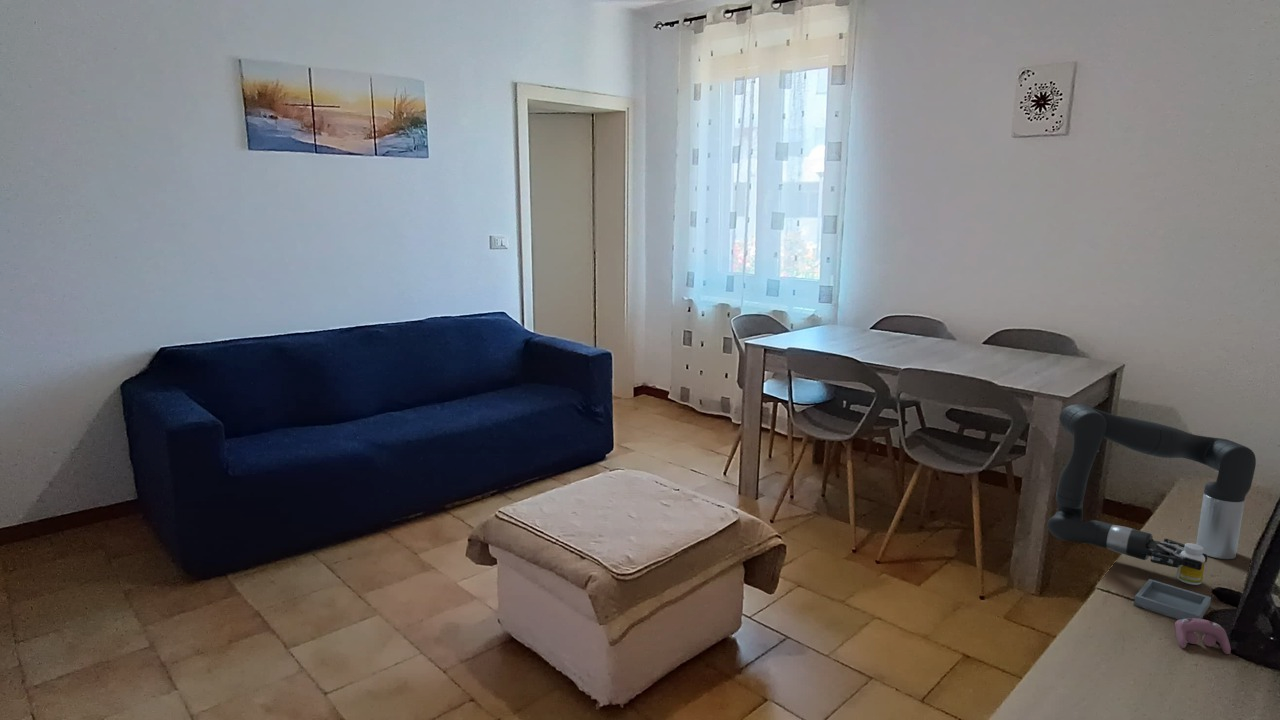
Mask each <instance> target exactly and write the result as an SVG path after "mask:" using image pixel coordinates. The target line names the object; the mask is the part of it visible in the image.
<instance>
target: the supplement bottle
mask: <svg viewBox="0 0 1280 720" xmlns="http://www.w3.org/2000/svg"><path fill="white" fill-rule="evenodd" d="M1184 544H1185V546H1184V550H1185V551H1183V550H1182V552H1181V553H1179V554H1180V555H1181V556H1183V557H1184V559H1185V557H1187V558H1190V559H1194V560H1197V561H1201V562H1202V569H1201V570H1197V569H1193V568H1190V567H1186V566H1178V568H1177V571H1176V577H1177V579H1178V581H1181V582H1182V583H1185V584H1188V585H1193V586H1194V585H1195V586H1198V585H1201V584H1202V583H1203V577H1204V571H1205V565H1206V563H1205V557H1204V556H1203V555H1202V554H1203V547H1202V546H1200V545H1197V544H1196V543H1193V542H1192V543H1190V542H1187V543H1184Z"/></svg>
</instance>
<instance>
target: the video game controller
mask: <svg viewBox="0 0 1280 720" xmlns="http://www.w3.org/2000/svg"><path fill="white" fill-rule="evenodd" d="M1174 629H1175V635H1176V640H1177V643H1178V645H1179V647H1180V648H1181V649H1185V648H1186V646H1187V643H1189V644H1192V645H1194V644H1198V643H1199V641H1200V639H1199V636H1198V635H1197V634H1196V633H1202V634H1203V636H1202V637H1201V642H1202V644H1203V645H1204V646H1206V647H1213V646H1215V644H1216V643H1218V644H1219V646H1220V648H1221V650H1222V652H1223V653H1224V654H1225V653H1226V654H1229V655H1230V654H1231V651H1232V650H1231V644H1230V640H1229V637H1228V634H1227V632H1226V630H1225V629H1224V628H1223V627H1222V626H1221V625H1220V624H1218V623H1216V622H1213V621H1211V620H1208V619H1203V618H1202V619H1198V618H1187V619H1185V618H1184V619H1180V620H1179V619H1176V621H1175V622H1174ZM1226 654H1225V655H1226Z"/></svg>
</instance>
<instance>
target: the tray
mask: <svg viewBox="0 0 1280 720" xmlns="http://www.w3.org/2000/svg"><path fill="white" fill-rule="evenodd" d="M1211 601H1212V597H1211V596H1208V595H1205V594H1202V593H1197V592H1195V591H1191V590H1188V589H1186V588H1185V589H1184V588H1182V587H1178V586H1175V585H1171V584H1168V583H1165V582H1161V581H1158V580H1155V579H1151V578H1149V579H1148V580H1147V581H1146V582H1145V583H1144V585H1143V586H1142V587H1141V588H1140V589H1139V591H1137V593H1136V594H1135V596H1134V602H1133V605H1134V606H1136V607H1140V608H1142V609H1145V610H1148V611H1152V612H1154V613H1157V614H1159V615H1164V616H1166V617H1170V618H1174V619H1176V620H1180V619H1184V618H1185V619H1187V618H1198V619H1203V618H1204V617H1205V615H1206V613H1207V612H1208V610H1209V609H1208V608H1210V607H1209V606H1211V603H1212V602H1211ZM1207 609H1208V610H1207ZM1206 611H1207V612H1206ZM1204 614H1205V615H1204ZM1203 616H1204V617H1203Z"/></svg>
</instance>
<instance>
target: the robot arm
mask: <svg viewBox="0 0 1280 720" xmlns="http://www.w3.org/2000/svg"><path fill="white" fill-rule="evenodd" d="M1059 423H1060V426H1061V427H1062V428H1063V429H1064V431H1066V433H1068V434H1069V435H1070V436H1072V437H1073V449H1072V453H1071V456H1070V458H1069V460H1068V462H1067V463H1066V464H1065V466H1064V467H1063V469H1062V471H1061V472H1060V474H1059V478H1058V484H1057V486H1056V493H1055V502H1056V503H1057V509H1056V512H1055V514H1053V515H1052V516H1051V517H1050V518H1049V519H1048V521H1047V526H1046V527H1047V529H1048V531H1049V533H1051V535H1052V536H1053V537H1055V538H1058V539H1060V540H1061V541H1062V540H1063V541H1067V542H1073V543H1081V544H1090V545H1093V546H1097V547H1100V548H1104V549H1108V550H1110V551H1113V552H1115V553H1118V554H1122V555H1125V556H1128V557H1131V558H1135V559H1139V560H1141V561H1146V560H1148V559H1149V557H1150V562H1151V563H1154V564H1158V565H1163V566H1167V567H1172V568H1175V569H1176V568H1177V569H1178V566H1186V567H1190V568H1193V569H1197V570H1201V569H1202V562H1201V561H1197V560H1194V559H1190V558H1187V557H1185V559H1184V557H1183V556H1181V555H1180V553H1181V552H1182V551H1185V550H1184V546H1185V544H1186V543H1181V542H1179V541H1175V540H1172V539H1169V538H1164V539H1163V541H1161V540H1160V541H1159V540H1154V539H1153V537H1154V536H1153V535H1152V533H1150V532H1147V531H1142V530H1139V529H1135V528H1131V527H1127V526H1124V525H1123V526H1122V525H1117V524H1112V523H1109V522H1104V521H1100V520H1095V519H1094V520H1090V521H1084V520H1083V515H1084V512H1083V511H1084V509H1083V507H1084V506H1083V503H1084V499H1085V494H1086V490H1087V484H1088V480H1089V476H1090V472H1091V470H1092V467H1093V464H1094V461H1095V459H1096V457H1097V455H1098V452H1099V449H1100V446H1101V444H1102V442H1103V440H1104V439H1106V440H1109V441H1112V442H1113V443H1116V444H1118V445H1119V446H1122V447H1124V448H1128V449H1130V450H1132V451H1135V452H1138V453H1141V454H1144V455H1145V454H1146V455H1149V456H1153V457H1157V458H1164V459H1175V458H1176V459H1177V458H1178V459H1179V458H1181V459H1187V460H1190V461H1193V462H1196V463H1199V464H1201V465H1205V466H1207V467H1209V468H1211V469H1214V470H1216V471H1217V472H1218V474H1217V478H1216V481H1209V482H1206V483H1205V485H1204V489H1203V495H1202V502H1201V510H1200V516H1199V524H1198V529H1197V537H1196V543H1195V544H1197V545H1200V546H1202V547H1203V554H1202V555H1203V556H1204V557H1205V564H1206V563H1207V562H1208V557H1212V558H1216V559H1221V560H1233V559H1236V558H1237V557H1236V556H1237V552H1238V546H1239V541H1240V540H1239V539H1240V533H1241V532H1240V531H1241V526H1242V520H1243V516H1244V515H1243V514H1244V513H1243V512H1244V509H1245V508H1244V507H1245V501H1246V497H1247V494H1248V493H1249V492H1250V491H1251V487H1252V484H1253V483H1252V482H1253V479H1254V475H1255V471H1256V464H1257V458H1256V454H1255V453H1254V451H1253V450H1252V449H1251V448H1250V447H1248V446H1246V445H1243V444H1240V443H1238V442H1236V441H1233V440H1230V439H1227V438H1222V437H1221V438H1220V437H1212V436H1204V435H1197V434H1193V433H1189V432H1187V431H1183V430H1182V429H1180V428H1176V427H1174V426H1173V427H1172V426H1169V425H1165V424H1161V423H1159V422H1158V423H1157V422H1154V421H1148V420H1143V419H1138V418H1132V417H1128V416H1123V415H1122V416H1120V415H1117V414H1112V413H1109V412H1105V411H1102V410H1099V409H1097V408H1094V407H1091V406H1088V405H1086V404H1080V403H1076V404H1071V405H1069V406H1066V407H1065V408H1063V410H1062V411H1060V414H1059Z"/></svg>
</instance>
